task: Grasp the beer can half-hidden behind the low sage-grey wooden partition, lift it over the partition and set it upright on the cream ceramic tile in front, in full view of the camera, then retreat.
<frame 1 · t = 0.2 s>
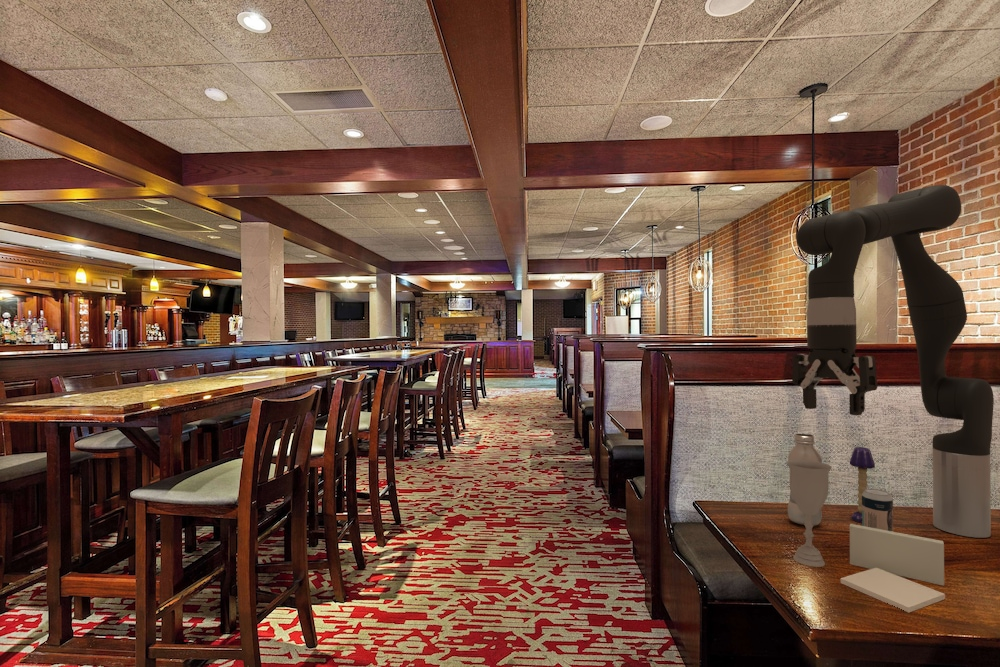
hand: (832, 411, 91), 28 cm above the table, fingers open, 8 cm apart
chalice: (808, 561, 93), on the table
partition: (894, 572, 88), on the table
tile: (891, 590, 82), on the table
beer can: (877, 554, 96), on the table
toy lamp: (862, 521, 113), on the table
plastic bottle: (804, 524, 111), on the table
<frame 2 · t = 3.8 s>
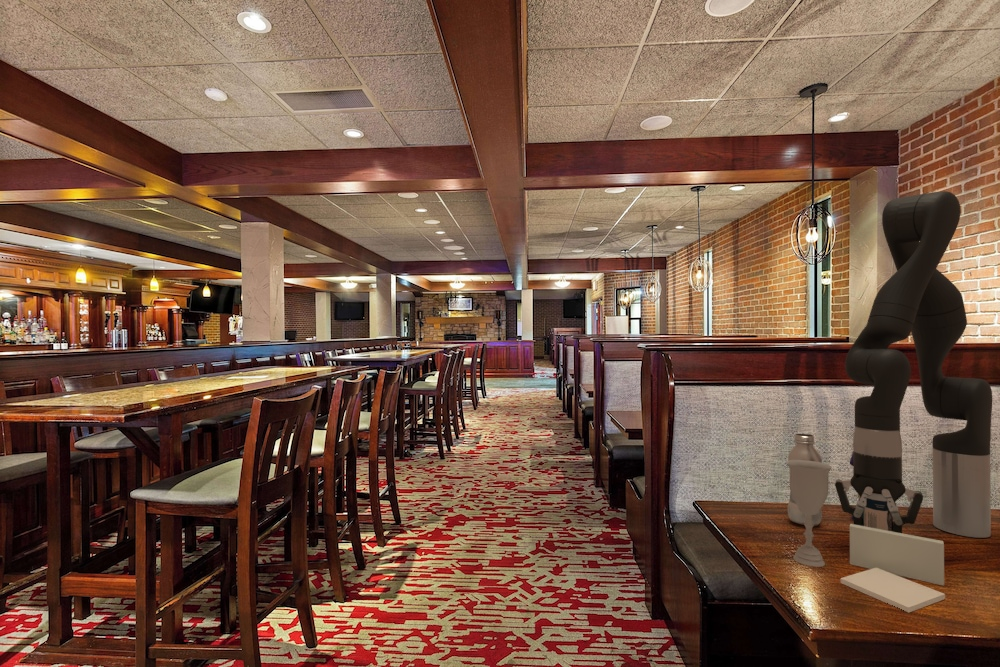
hand: (877, 538, 96), 3 cm above the table, fingers closed on beer can, 4 cm apart
beer can: (877, 554, 96), on the table, touching gripper
everything else where it was.
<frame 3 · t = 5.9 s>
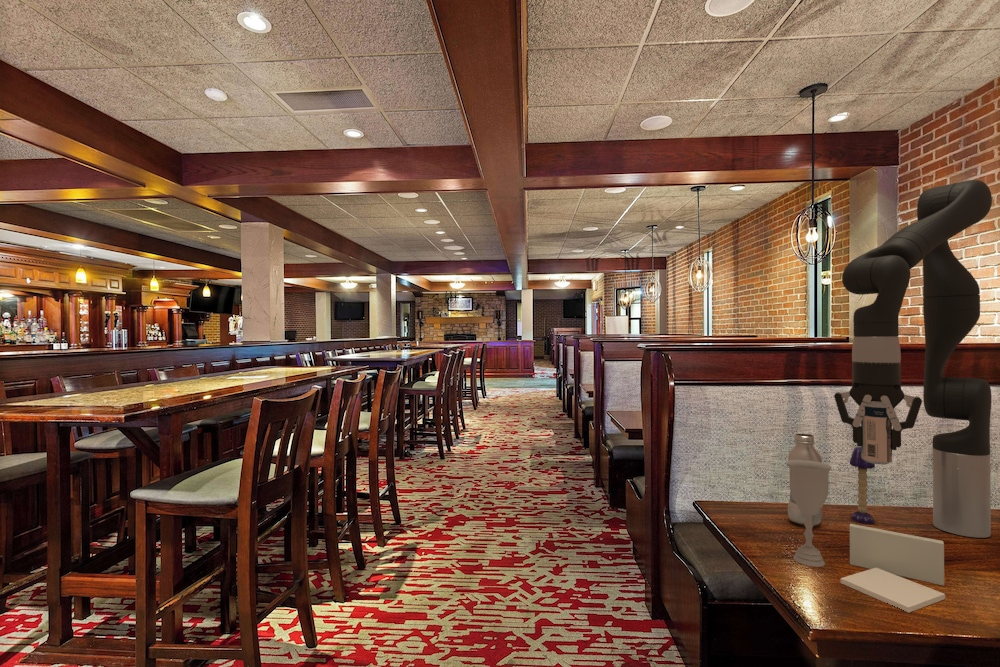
hand: (876, 447, 96), 21 cm above the table, fingers closed on beer can, 4 cm apart
beer can: (876, 463, 96), point 17 cm above the table, touching gripper
everything else where it was.
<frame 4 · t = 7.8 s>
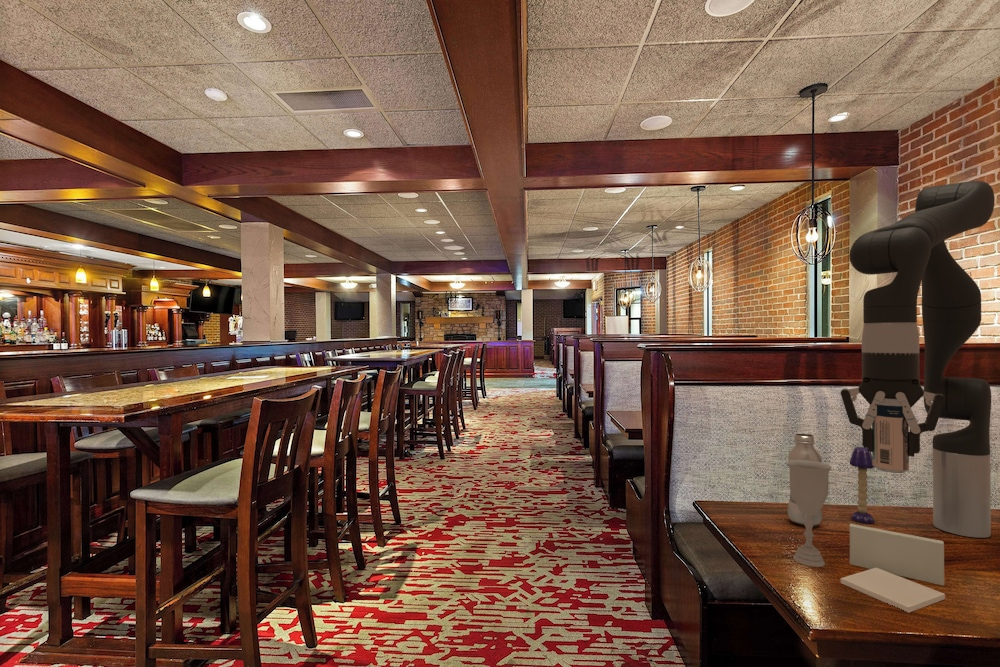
hand: (890, 452, 82), 23 cm above the table, fingers closed on beer can, 4 cm apart
beer can: (890, 471, 82), point 20 cm above the table, touching gripper
everything else where it was.
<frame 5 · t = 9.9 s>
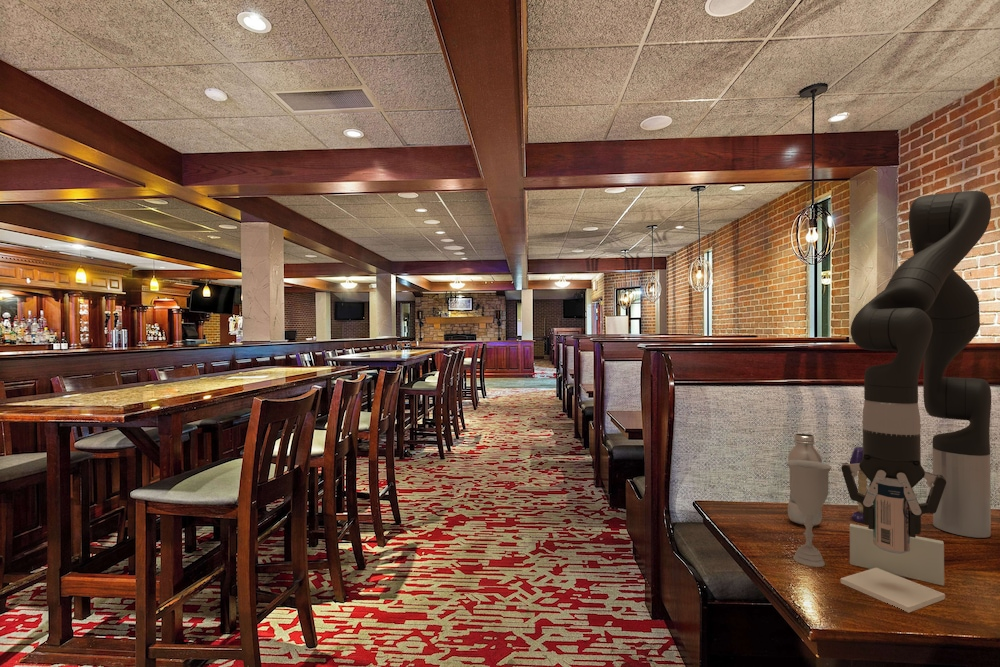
hand: (891, 531, 82), 10 cm above the table, fingers closed on beer can, 4 cm apart
beer can: (891, 550, 82), point 7 cm above the table, touching gripper
everything else where it was.
when the fingers open (5 cm above the table, at t = 11.8 s): beer can stays where it is, resting on tile.
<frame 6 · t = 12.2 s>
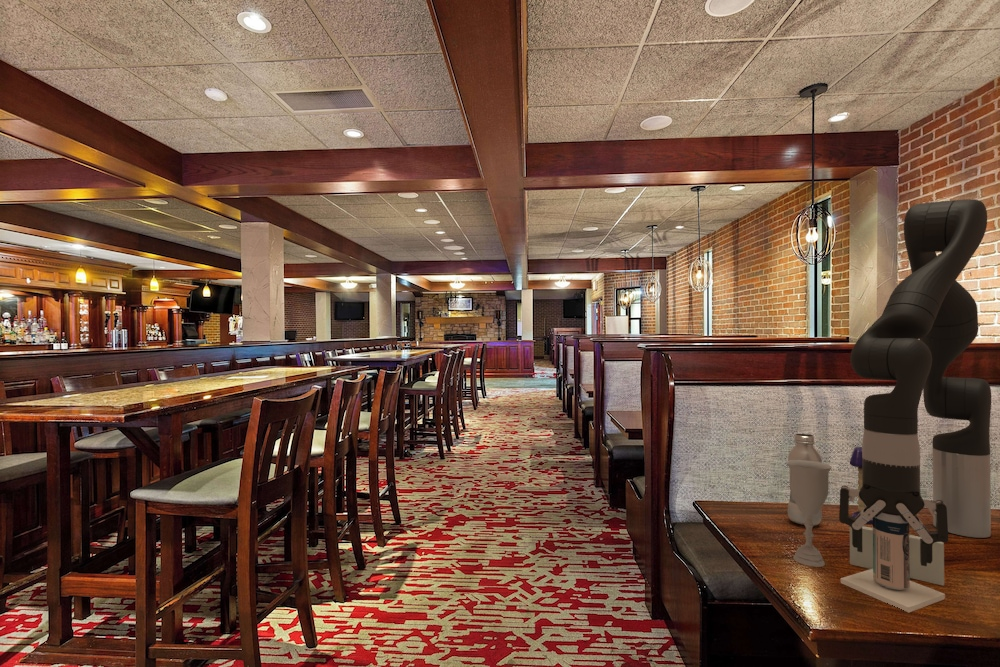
hand: (890, 557, 82), 6 cm above the table, fingers open, 8 cm apart
beer can: (891, 586, 82), point 1 cm above the table, touching tile
everything else where it was.
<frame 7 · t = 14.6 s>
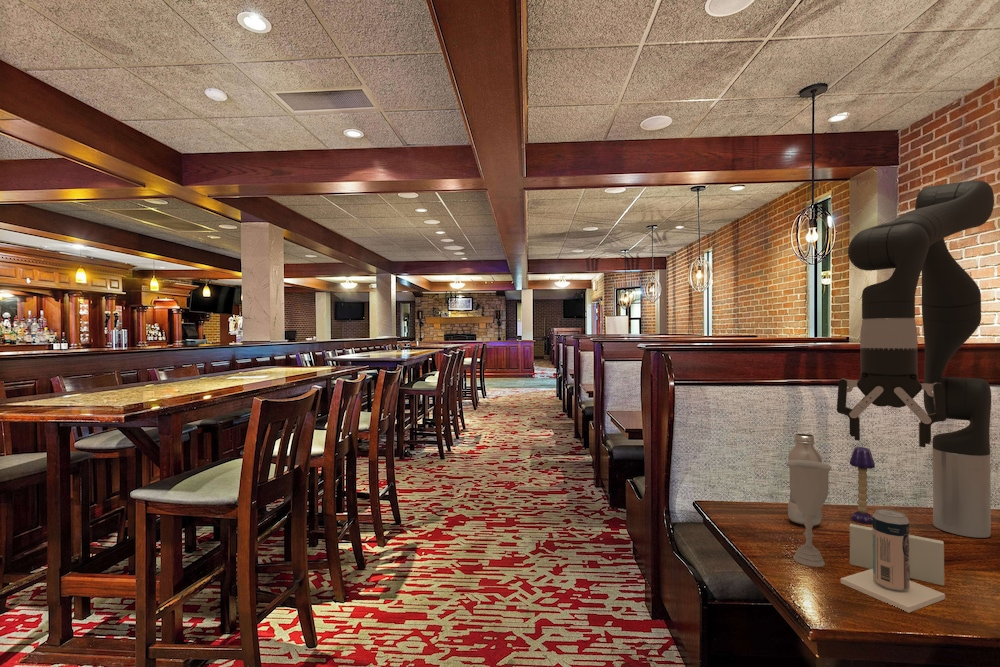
hand: (888, 443, 83), 24 cm above the table, fingers open, 8 cm apart
nothing on the table moved.
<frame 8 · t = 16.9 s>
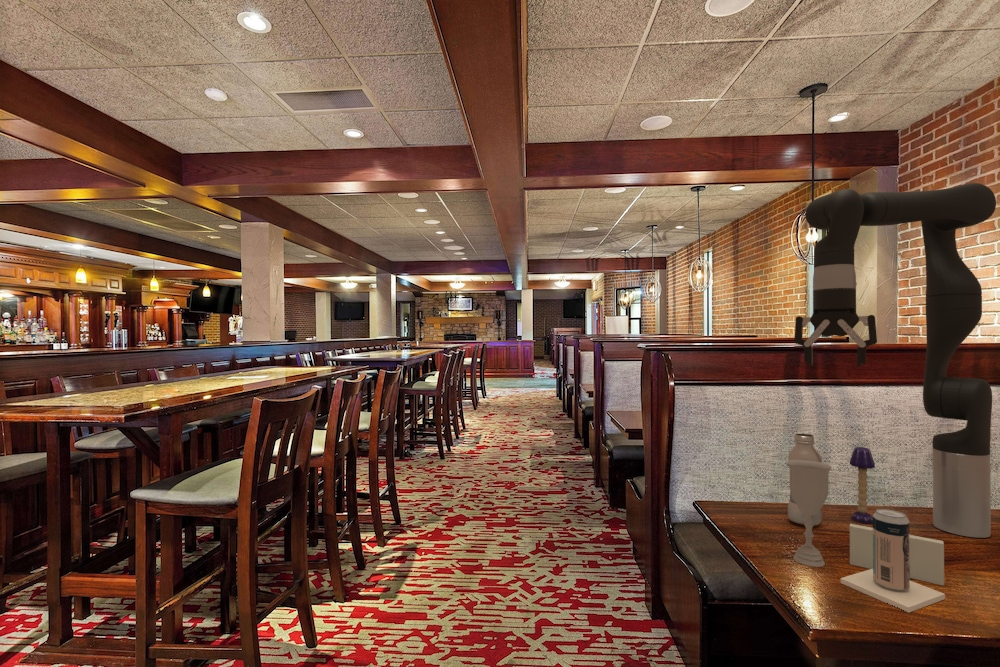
hand: (834, 365, 104), 36 cm above the table, fingers open, 8 cm apart
nothing on the table moved.
at the end: beer can 0.1 cm off-centre on the tile, point 0.6 cm above the tile's base; beer can tilted 0°; the gripper is holding nothing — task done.
